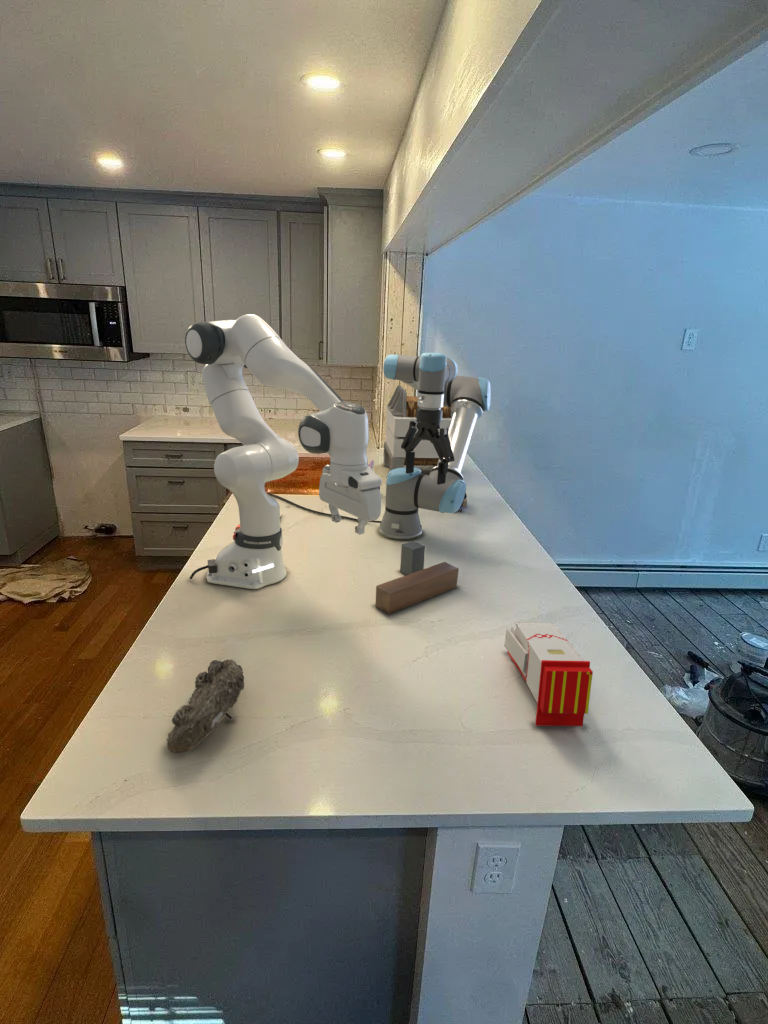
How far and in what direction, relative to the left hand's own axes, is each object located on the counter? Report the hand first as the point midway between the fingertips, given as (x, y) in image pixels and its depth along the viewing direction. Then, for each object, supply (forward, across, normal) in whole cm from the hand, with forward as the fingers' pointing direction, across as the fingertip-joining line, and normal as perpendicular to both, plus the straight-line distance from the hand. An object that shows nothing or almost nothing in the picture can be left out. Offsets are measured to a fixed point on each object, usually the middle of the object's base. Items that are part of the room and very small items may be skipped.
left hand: (347, 527), depth 138 cm
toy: (+24, +48, +16) cm, 56 cm away
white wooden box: (+24, -86, +109) cm, 141 cm away
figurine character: (+24, -41, +87) cm, 99 cm away
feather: (+24, -69, +22) cm, 76 cm away
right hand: (-3, -14, +40) cm, 42 cm away
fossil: (+24, +16, -44) cm, 52 cm away
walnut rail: (+24, +4, +22) cm, 33 cm away
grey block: (+24, -8, +31) cm, 40 cm away
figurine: (+24, -72, +67) cm, 101 cm away
